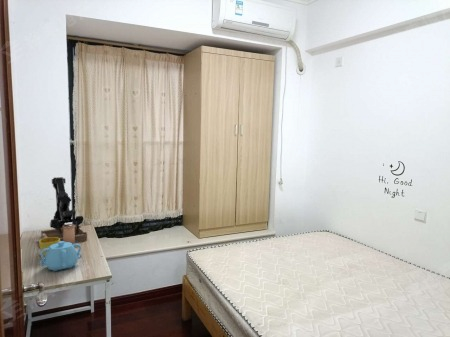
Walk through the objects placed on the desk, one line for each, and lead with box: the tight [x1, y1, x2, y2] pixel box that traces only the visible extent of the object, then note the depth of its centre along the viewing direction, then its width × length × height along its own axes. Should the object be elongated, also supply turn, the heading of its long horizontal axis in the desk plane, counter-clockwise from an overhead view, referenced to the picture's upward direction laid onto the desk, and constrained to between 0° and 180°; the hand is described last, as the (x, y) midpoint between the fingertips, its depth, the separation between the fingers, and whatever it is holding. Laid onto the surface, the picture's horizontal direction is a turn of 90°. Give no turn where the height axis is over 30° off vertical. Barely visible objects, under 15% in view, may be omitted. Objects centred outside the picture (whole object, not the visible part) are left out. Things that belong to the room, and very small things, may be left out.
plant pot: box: [38, 237, 61, 259], centre depth 177 cm, size 10×10×10 cm
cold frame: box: [40, 225, 88, 243], centre depth 205 cm, size 16×24×6 cm
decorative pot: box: [39, 241, 83, 272], centre depth 163 cm, size 16×16×14 cm
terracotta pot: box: [62, 223, 76, 245], centre depth 195 cm, size 7×7×13 cm
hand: (69, 233), depth 194 cm, fingers open, 9 cm apart
